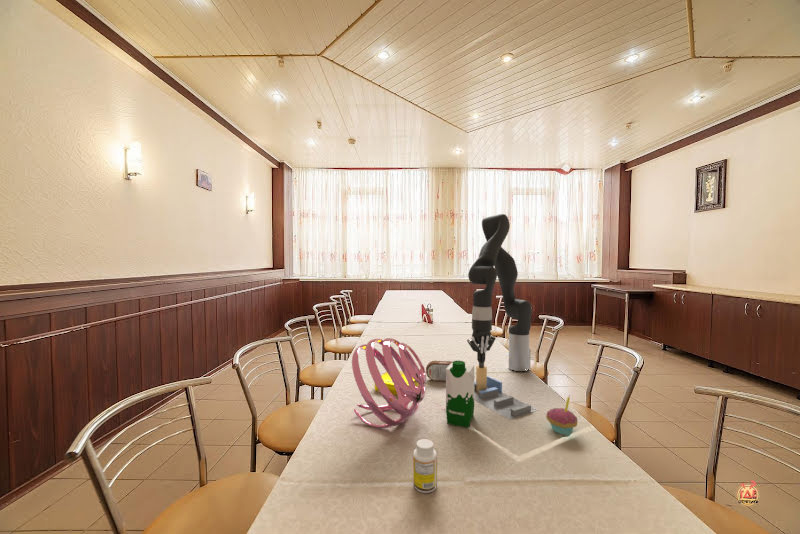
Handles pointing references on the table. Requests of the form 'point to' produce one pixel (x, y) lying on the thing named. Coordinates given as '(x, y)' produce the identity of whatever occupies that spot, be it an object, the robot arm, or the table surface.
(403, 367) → the spiral basket
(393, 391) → the element tile
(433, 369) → the tin
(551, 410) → the cupcake
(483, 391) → the slotted grey board
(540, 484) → the table surface
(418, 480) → the supplement bottle
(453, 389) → the milk carton
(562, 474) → the table surface
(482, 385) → the yellow bottle
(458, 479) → the table surface
